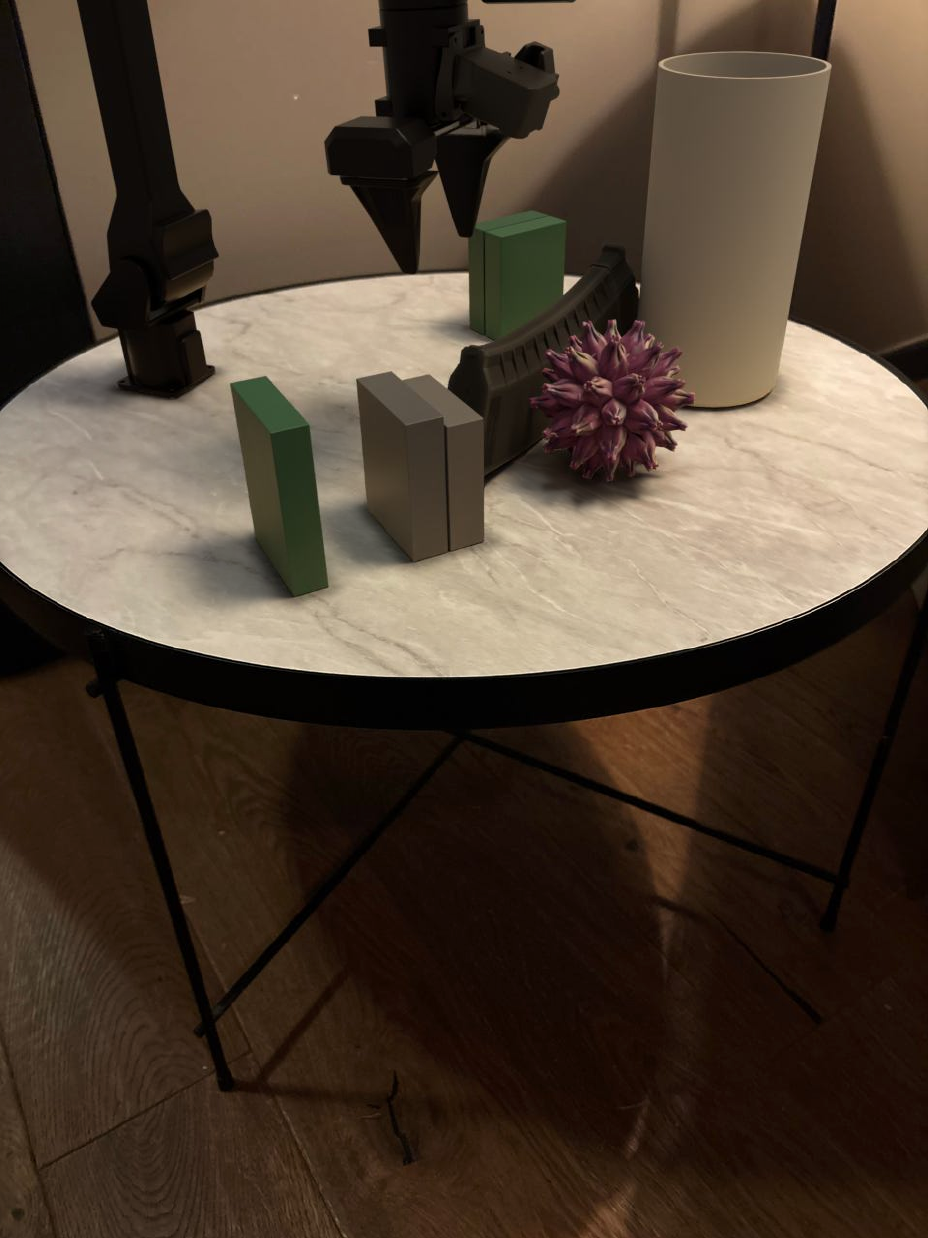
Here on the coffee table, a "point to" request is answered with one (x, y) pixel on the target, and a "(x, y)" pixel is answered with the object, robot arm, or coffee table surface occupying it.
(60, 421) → the coffee table surface
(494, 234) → the green books
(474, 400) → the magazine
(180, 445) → the coffee table surface
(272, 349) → the coffee table surface
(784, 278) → the cylinder vase
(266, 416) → the green book
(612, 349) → the flower
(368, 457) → the grey books
